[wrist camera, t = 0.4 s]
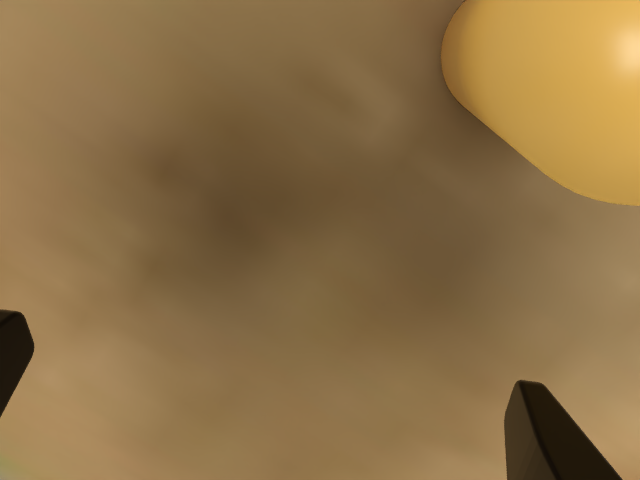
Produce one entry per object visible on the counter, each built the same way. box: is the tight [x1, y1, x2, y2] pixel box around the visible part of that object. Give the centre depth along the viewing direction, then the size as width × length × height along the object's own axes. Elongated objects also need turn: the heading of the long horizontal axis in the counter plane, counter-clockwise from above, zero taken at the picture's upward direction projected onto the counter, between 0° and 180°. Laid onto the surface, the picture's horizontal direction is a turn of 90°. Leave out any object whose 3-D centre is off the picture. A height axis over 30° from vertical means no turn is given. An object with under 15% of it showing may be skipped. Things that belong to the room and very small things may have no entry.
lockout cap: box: [441, 0, 640, 205], centre depth 14 cm, size 5×5×12 cm
